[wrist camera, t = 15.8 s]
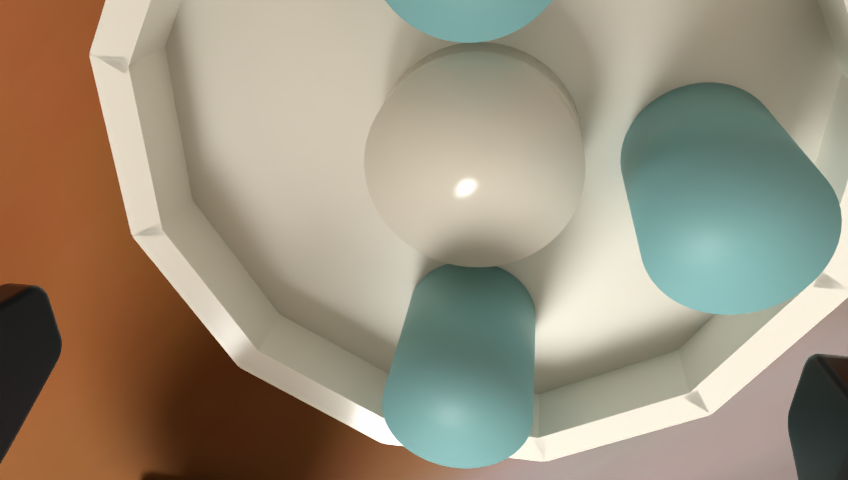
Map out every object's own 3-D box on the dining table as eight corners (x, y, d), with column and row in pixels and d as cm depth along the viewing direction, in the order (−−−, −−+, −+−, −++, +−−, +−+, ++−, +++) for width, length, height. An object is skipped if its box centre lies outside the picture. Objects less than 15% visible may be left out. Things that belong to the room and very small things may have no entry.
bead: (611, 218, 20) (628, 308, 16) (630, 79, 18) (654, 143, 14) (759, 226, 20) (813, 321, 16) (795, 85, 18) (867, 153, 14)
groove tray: (763, 423, 24) (789, 494, 21) (206, 367, 27) (170, 423, 24) (997, -314, 14) (1097, -348, 12) (78, -289, 17) (-6, -312, 14)
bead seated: (530, 369, 23) (527, 475, 19) (410, 358, 24) (383, 459, 20) (540, 265, 21) (539, 361, 17) (409, 255, 22) (379, 345, 18)
